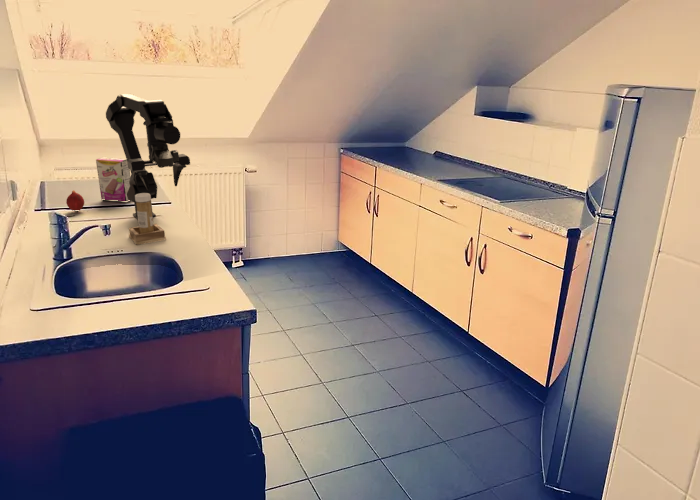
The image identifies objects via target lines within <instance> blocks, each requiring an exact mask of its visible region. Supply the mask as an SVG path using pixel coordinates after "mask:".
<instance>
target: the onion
mask: <svg viewBox="0 0 700 500" xmlns="http://www.w3.org/2000/svg"><path fill="white" fill-rule="evenodd" d="M65 202H66V206H67V207H68V208H69V209H70V210H72V211H73V210H79V211H81V210H82V209H83V208H84V205H85V199H84V198H83V196H82V194H79V193H78V192H76V191H75V190H72V191H71V193H70V194H69V195H67V198H66V201H65Z"/></svg>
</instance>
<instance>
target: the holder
mask: <svg viewBox="0 0 700 500" xmlns="http://www.w3.org/2000/svg"><path fill="white" fill-rule="evenodd" d="M153 227H154V231H153V232H147V233H141V234H140V229H139V225H138V226H133V227H129V228H128V232H129V234H128V237H129V239H130V240H132V242H134V244H135V245H136V246H137V245H143V244H149V243H150V244H151V243H155V242H160V241H166V240H167V237H166V236H165V233H166V232H165V230H164V229H163V228H162V227H161V226H160V225H159V224H157V223H153Z"/></svg>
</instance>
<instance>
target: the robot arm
mask: <svg viewBox="0 0 700 500" xmlns="http://www.w3.org/2000/svg"><path fill="white" fill-rule="evenodd" d="M137 112H138V113H139V116H140V117H141V118H143V119H144V121H143V126H145V129H146V139H147V143H146V144H147V146H146V147H148V160H143V158H142V156H141V153H140V149H139V146H138V143H137V141H136V138H135V137H136V136H135V134H134V131H133V127H134V124H135V118H134V117H135V116H136V113H137ZM105 119H106V121H107V122H108V123H109V124H108V125H109V126H110V128H111V129H112V130H113V131H114V132H116V133H117V134H118V137H119V140H120V144H121V147H122V150H123V153H124V155H125V159H127V162H128V168H129V169H130V176H131V177H130V181H129V184H130V188H129V190H128V192H127V197H128V200H130V202H133V204H134V209H135V210H134V211H135V213H134V212H133V213H132V215H133V217H134V218H135V219H137V220H138V215H137V205H136V201H135V195H136V194H139V193H149V194H150V196H151V200H152V199H157V197H158V196H157V195H158V185H157V182H156V180H155V178H154V177H155V176H154V174H153V172H151V171H150V172H149V171H148V170H146V167H151V166H157V167H158V168H166V167H167V168H168V167H170V168H171V167H172V173H173V183H174V186H175V187H177V186H178V183H179V179H180V176H181V173H182V171H183V170H184V169H185V168H187V166H189V165H191V158H190V157H189V156H188V155H186V154H184V153H179V151H178V150H177V149H172V150H169V145H176V144H177V143H179V141H180V139H181V132H180V130H179V128H178V127H177V126H174V125H175V124H174V120H173V116H172V114H171V112H170V111H169V108H168V106H167V105H166V103H165V101H164V100H163V99H153V100H152V99H151V100H149V99H146V98H142V97H139V96H135V95H134V94H132V93H123V94H119V95H117V97H116V99H114V100H113V101H112V102H111V103H109V105H108V106H107V109H106V111H105ZM152 204H153V203H152V202H151V211H152V217H153V218H154V217H156V216H157V215H156V214H155V213H154V212H153V206H152Z"/></svg>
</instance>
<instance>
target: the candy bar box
mask: <svg viewBox="0 0 700 500" xmlns="http://www.w3.org/2000/svg"><path fill="white" fill-rule="evenodd" d="M95 164H96V170H97V176H98V177H97V178H98V184H99V190H100V196H101V197H100V198H101V200H102V199H105V200H118V201H128V197H127V192H128V190H129V188H130V184H129V181H130V177H131V171H130V169H129V168H128V162H127V159H126V158H116V157H106V156H105V157H103V156H102V157H99V158H96V159H95Z"/></svg>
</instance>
